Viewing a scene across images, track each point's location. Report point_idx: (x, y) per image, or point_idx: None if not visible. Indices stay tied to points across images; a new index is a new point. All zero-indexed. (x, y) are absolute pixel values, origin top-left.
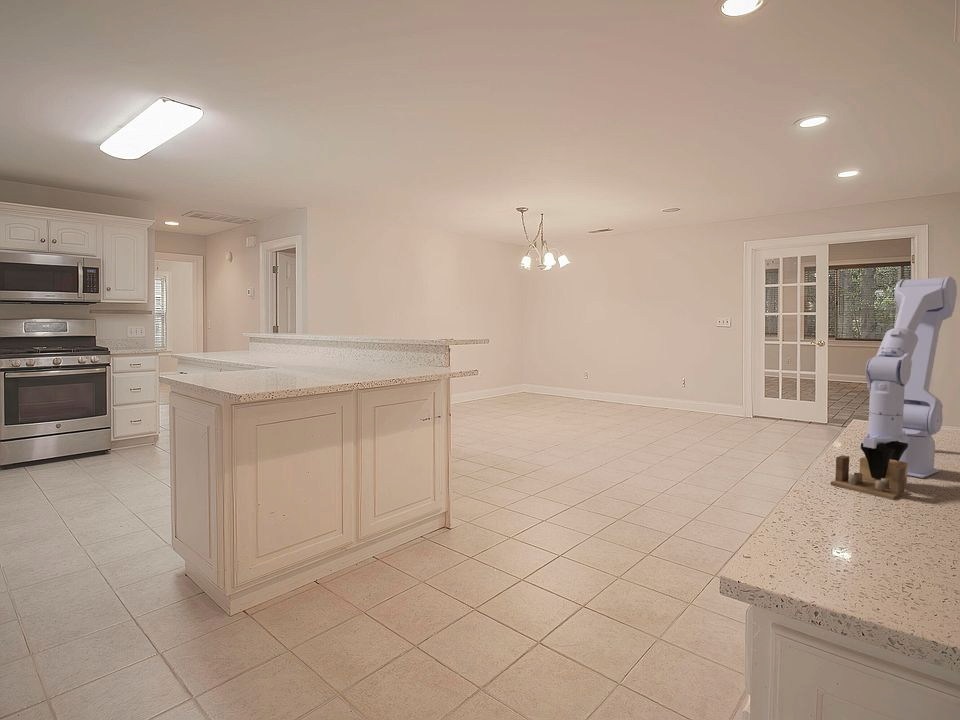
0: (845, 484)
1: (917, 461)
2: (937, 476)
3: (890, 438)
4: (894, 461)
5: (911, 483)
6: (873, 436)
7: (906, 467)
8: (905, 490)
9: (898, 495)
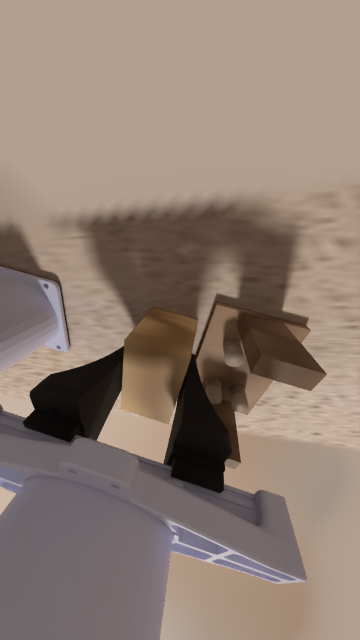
0: (250, 398)
1: (11, 307)
2: (6, 256)
3: (190, 521)
4: (141, 368)
5: (119, 299)
6: (214, 557)
7: (139, 333)
8: (225, 309)
9: (276, 319)
